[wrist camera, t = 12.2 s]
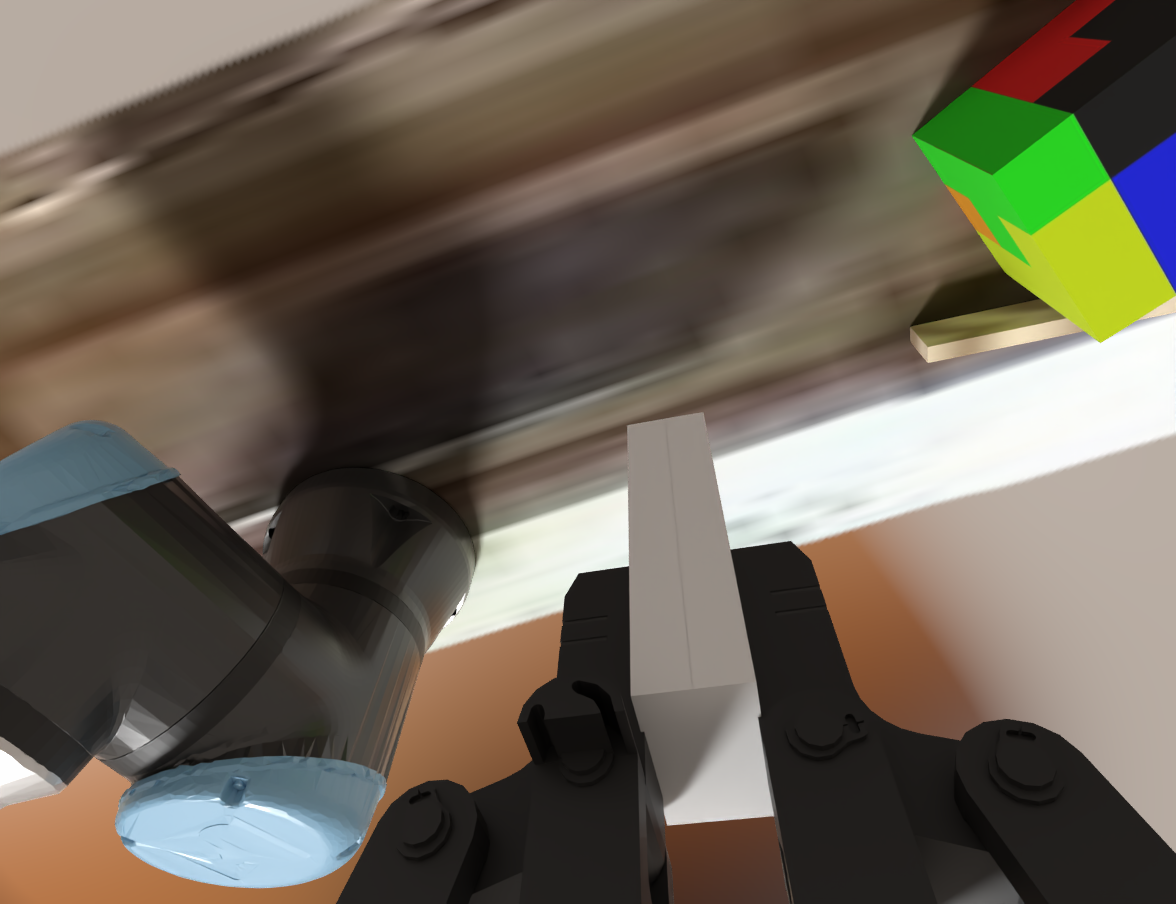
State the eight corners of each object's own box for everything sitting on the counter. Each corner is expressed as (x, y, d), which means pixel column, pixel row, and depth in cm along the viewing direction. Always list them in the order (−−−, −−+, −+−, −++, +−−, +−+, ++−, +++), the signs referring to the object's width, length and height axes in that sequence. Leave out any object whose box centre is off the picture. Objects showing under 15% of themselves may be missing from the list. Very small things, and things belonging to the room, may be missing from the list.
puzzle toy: (1188, 143, 37) (1351, 186, 29) (1004, 272, 41) (1100, 342, 33) (1103, -24, 34) (1261, -31, 25) (911, 135, 38) (992, 175, 29)
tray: (910, 341, 44) (927, 362, 41) (897, -46, 34) (919, -49, 31) (1245, 271, 41) (1286, 289, 38) (1341, -180, 30) (1406, -196, 28)
